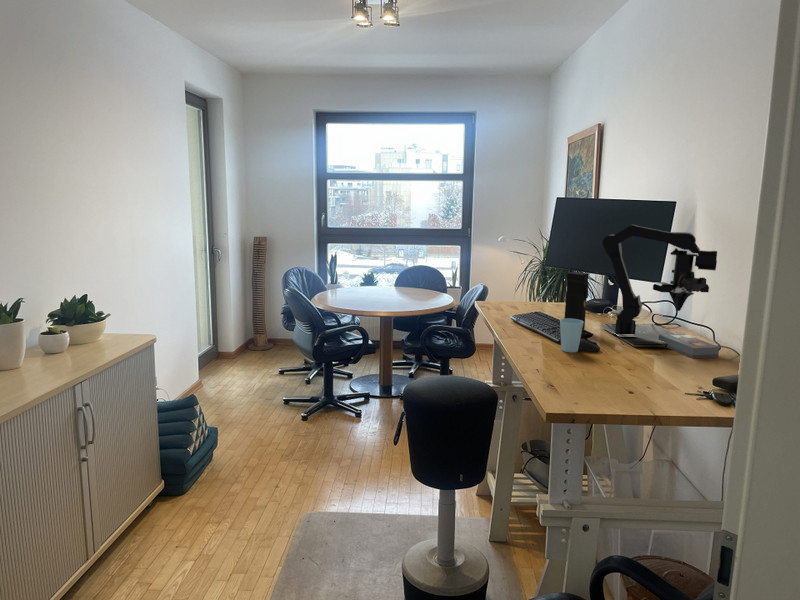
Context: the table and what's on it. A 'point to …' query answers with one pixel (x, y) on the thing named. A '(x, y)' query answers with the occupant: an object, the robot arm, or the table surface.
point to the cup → (570, 334)
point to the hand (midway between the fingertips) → (678, 310)
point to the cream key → (688, 338)
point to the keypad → (690, 347)
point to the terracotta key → (699, 344)
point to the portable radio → (576, 296)
